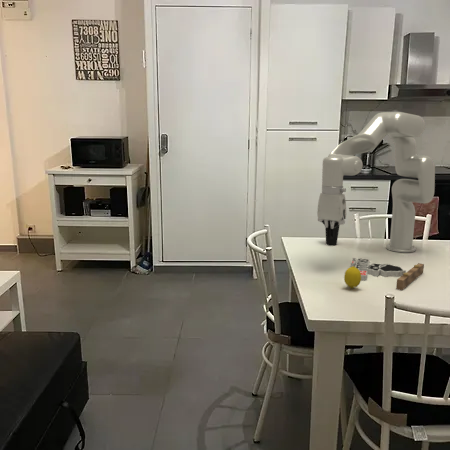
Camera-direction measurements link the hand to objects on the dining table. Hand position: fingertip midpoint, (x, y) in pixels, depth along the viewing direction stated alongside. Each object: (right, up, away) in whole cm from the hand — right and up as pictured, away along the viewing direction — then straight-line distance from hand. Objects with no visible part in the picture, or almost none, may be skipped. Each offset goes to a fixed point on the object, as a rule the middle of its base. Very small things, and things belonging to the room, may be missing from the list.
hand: (330, 237), depth 175 cm
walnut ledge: (+26, -15, -10) cm, 32 cm away
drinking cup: (+10, -4, +40) cm, 41 cm away
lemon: (+3, -17, -18) cm, 25 cm away
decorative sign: (+17, -14, -1) cm, 22 cm away
